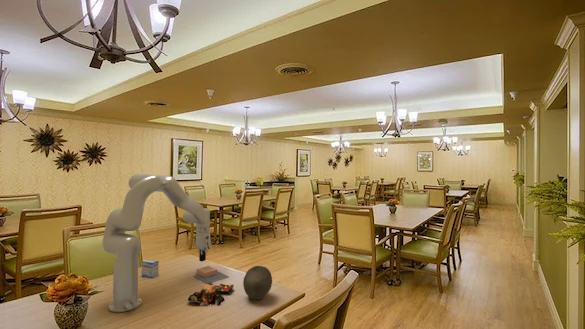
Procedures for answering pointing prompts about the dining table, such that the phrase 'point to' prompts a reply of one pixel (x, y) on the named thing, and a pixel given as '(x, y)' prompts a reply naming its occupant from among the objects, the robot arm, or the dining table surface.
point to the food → (210, 294)
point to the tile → (206, 271)
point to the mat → (211, 277)
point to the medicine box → (150, 268)
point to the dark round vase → (257, 282)
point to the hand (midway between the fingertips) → (202, 260)
